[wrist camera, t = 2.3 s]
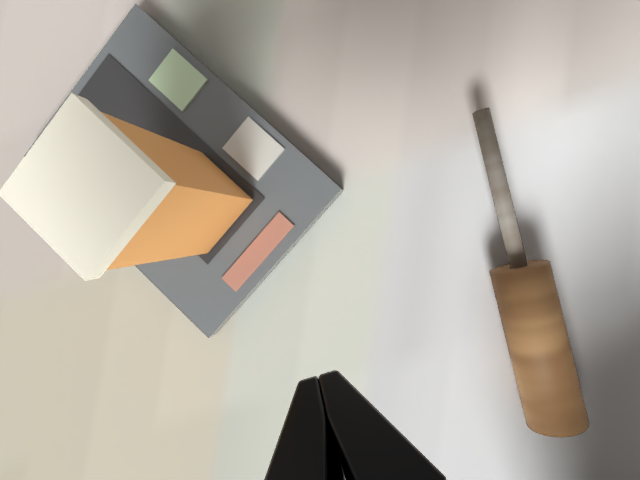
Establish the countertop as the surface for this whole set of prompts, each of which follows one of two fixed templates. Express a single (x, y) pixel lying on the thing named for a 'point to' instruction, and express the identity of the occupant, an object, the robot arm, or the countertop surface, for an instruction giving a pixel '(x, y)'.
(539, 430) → the wooden handled tool
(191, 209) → the lidded box
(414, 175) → the countertop surface
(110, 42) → the switch board
